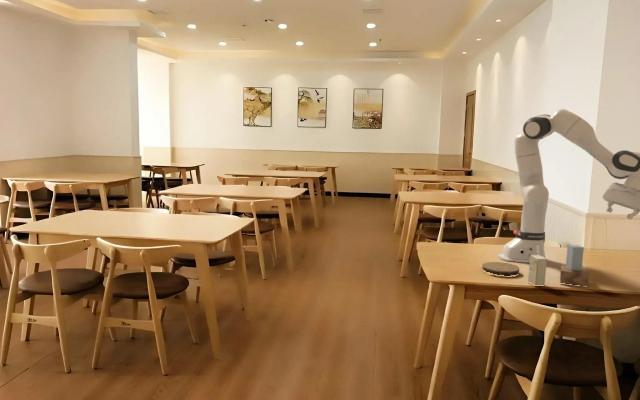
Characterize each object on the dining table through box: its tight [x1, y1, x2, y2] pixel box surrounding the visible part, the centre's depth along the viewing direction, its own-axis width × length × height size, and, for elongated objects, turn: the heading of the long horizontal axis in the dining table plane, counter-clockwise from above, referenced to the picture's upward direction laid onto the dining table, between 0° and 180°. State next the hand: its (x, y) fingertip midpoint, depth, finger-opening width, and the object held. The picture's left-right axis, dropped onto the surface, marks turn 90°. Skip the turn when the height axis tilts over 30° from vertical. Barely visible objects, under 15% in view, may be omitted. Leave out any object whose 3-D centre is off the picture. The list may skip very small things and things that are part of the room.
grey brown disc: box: [481, 261, 520, 276], centre depth 229 cm, size 16×16×3 cm
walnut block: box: [559, 264, 589, 287], centre depth 214 cm, size 10×10×6 cm
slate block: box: [565, 244, 585, 271], centre depth 213 cm, size 4×4×10 cm
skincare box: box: [527, 255, 548, 286], centre depth 209 cm, size 6×4×12 cm
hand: (618, 215), depth 218 cm, fingers open, 8 cm apart
